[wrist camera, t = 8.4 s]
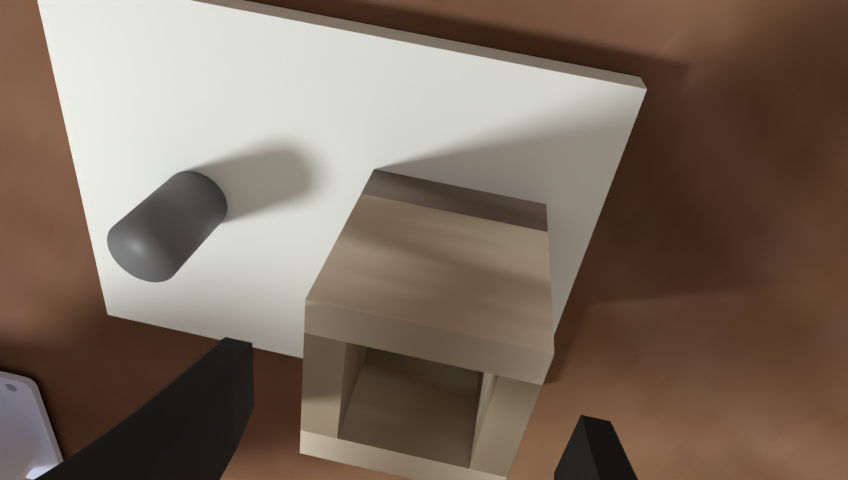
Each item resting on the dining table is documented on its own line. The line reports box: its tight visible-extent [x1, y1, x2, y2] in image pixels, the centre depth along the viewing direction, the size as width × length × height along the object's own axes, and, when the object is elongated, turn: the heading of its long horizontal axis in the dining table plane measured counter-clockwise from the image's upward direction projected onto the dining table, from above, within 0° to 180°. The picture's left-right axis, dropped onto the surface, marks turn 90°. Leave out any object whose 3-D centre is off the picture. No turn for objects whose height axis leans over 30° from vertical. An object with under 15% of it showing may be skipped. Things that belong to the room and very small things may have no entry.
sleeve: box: [300, 169, 554, 480], centre depth 15 cm, size 5×5×6 cm
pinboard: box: [38, 0, 647, 358], centre depth 17 cm, size 16×12×4 cm
